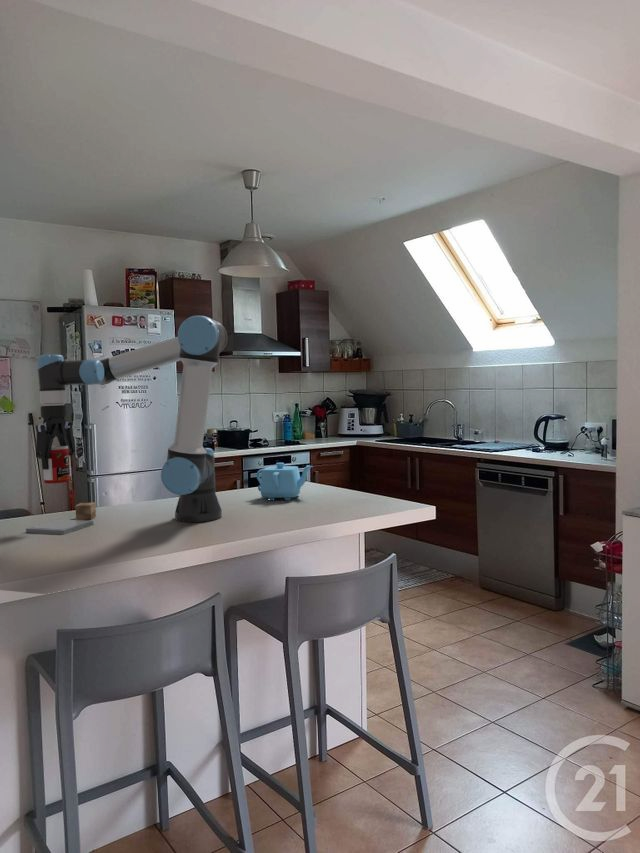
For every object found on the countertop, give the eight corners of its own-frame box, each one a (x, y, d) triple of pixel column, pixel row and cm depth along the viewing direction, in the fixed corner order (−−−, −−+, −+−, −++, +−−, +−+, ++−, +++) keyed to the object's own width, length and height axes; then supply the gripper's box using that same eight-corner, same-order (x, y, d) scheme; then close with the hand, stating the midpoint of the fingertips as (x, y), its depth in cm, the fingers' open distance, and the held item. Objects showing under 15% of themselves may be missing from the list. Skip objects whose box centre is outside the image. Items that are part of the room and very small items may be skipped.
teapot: (270, 503, 241) (269, 466, 240) (252, 497, 256) (251, 462, 255) (314, 498, 250) (313, 462, 249) (294, 492, 264) (293, 458, 264)
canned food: (61, 483, 204) (59, 447, 203) (38, 483, 206) (35, 448, 205) (75, 479, 211) (73, 445, 211) (53, 480, 213) (50, 445, 212)
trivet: (93, 524, 213) (93, 520, 213) (63, 534, 200) (63, 530, 200) (57, 522, 218) (57, 519, 218) (26, 532, 204) (25, 528, 204)
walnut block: (95, 517, 226) (95, 502, 226) (91, 520, 221) (90, 505, 221) (81, 517, 226) (80, 502, 226) (76, 520, 221) (75, 505, 221)
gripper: (66, 403, 218) (70, 473, 219) (18, 406, 198) (23, 482, 200) (85, 403, 215) (89, 473, 217) (39, 406, 196) (44, 483, 197)
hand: (57, 477), depth 208 cm, fingers closed on canned food, 8 cm apart
